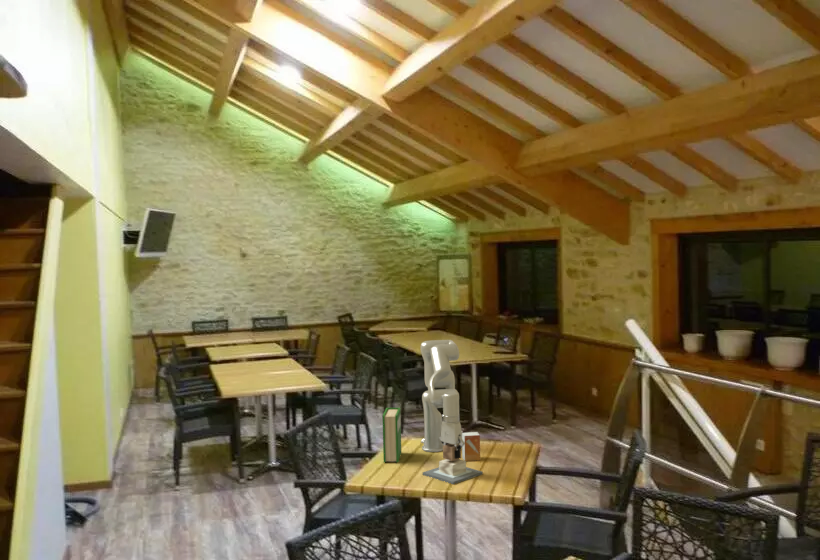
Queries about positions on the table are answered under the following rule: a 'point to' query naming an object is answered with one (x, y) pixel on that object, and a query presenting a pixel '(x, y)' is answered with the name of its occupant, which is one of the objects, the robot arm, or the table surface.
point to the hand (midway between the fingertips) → (452, 456)
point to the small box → (471, 446)
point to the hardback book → (392, 434)
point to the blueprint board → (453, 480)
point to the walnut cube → (450, 452)
